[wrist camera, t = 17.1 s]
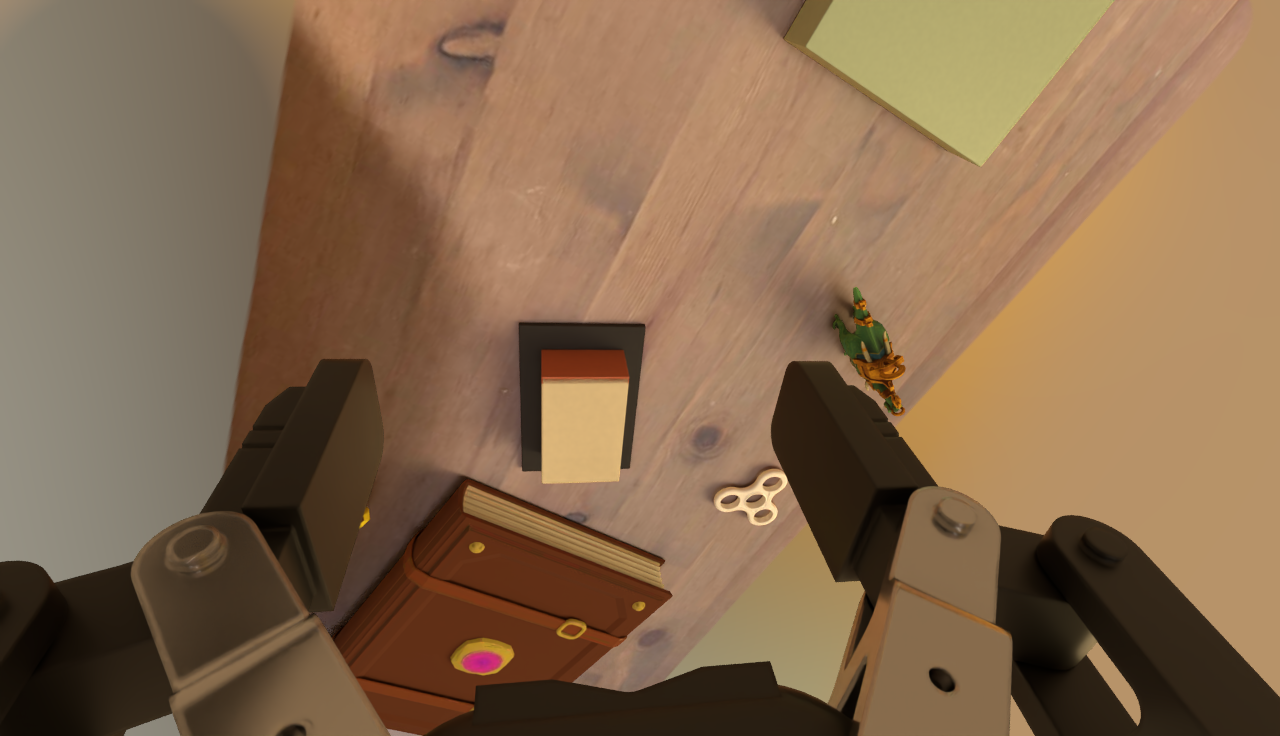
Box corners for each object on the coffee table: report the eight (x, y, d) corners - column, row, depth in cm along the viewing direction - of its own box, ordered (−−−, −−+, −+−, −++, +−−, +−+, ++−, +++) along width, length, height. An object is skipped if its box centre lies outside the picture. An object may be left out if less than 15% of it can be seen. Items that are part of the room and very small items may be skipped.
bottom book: (782, 39, 34) (804, 46, 32) (900, -164, 30) (938, -176, 27) (949, 152, 40) (981, 167, 37) (1070, -7, 35) (1117, -3, 32)
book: (666, 559, 60) (676, 603, 56) (497, 711, 71) (495, 757, 67) (458, 472, 50) (451, 519, 45) (301, 666, 61) (284, 716, 57)
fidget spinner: (706, 501, 55) (708, 507, 55) (751, 454, 53) (754, 461, 52) (762, 524, 58) (764, 530, 58) (807, 481, 56) (810, 487, 55)
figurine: (847, 382, 50) (894, 449, 43) (806, 266, 43) (854, 324, 36) (883, 366, 49) (936, 431, 43) (846, 246, 43) (903, 301, 36)
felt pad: (519, 322, 42) (519, 325, 42) (644, 324, 44) (645, 326, 44) (522, 468, 50) (522, 471, 50) (629, 465, 52) (629, 468, 51)
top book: (541, 349, 43) (541, 377, 41) (623, 349, 44) (629, 376, 42) (541, 453, 49) (541, 484, 46) (614, 451, 50) (619, 481, 47)
